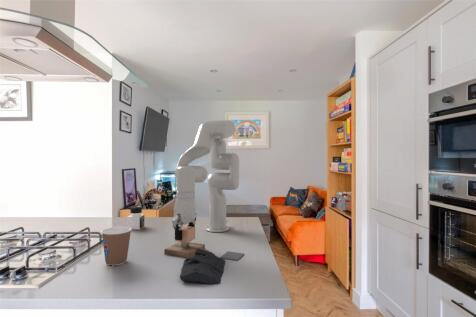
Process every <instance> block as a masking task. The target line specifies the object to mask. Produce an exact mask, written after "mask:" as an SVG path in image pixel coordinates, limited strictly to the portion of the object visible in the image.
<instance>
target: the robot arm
mask: <svg viewBox="0 0 476 317" xmlns="http://www.w3.org/2000/svg"><path fill="white" fill-rule="evenodd" d="M235 131H236V125H235V123H234V121H232V120H231V119H224V120H222V119H220V120H209V121H205V122H203V123H201V124H200V125H199V127H198V131H197V134H196V136H195V139H194V143H193V145H192V146H191V147H189V148H187V150H186V151H184V153H182V154H181V155H180V157H179V159H178V161H177V163H176V167H175V172H174V178H175V179H176V199H175V202H174V203H175V204H174V208H173V219H172V220H171V223H172V228H173V230H174V241H175V240H182V230H181V229H182V227H183V226H185V225H187V226H191V227H195V228H196V226H195V225H196V221H197V215H198V213H197V212H196V203H195V202H196V201H195V199H196V195H195V193H196V184H197V183H199V184H201V183H204V182H205V181H206V180H207V188H208V226H206V227H205V230H206V231H207V232H210V233H225V232H228V231H229V230H230V227H229V226H228V225H227V223H228V222H229V221H228V220H227V196H226V193H225V192H224V191H236V190H238V188H239V185H240V158H239V155H238V154H237V153H234V152H227V143H226V141H225V139H227V138H230V137H232V136H233V135H234V134H235ZM209 154H210V167H211V168H212V169H213V170H215V171H216V170H217V171H216V172H212V173H210V174H208V169H207V168H205V167H204V166H203V165H190V164H191V163H193V162H194V161H195V160H197V159H200V158H203V157H204V156H206V155H209ZM219 170H220V171H221V172H220V171H219ZM218 171H219V172H218ZM223 171H229V172H223Z"/></svg>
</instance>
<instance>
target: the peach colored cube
mask: <svg viewBox="0 0 476 317" xmlns="http://www.w3.org/2000/svg"><path fill="white" fill-rule="evenodd" d="M181 230H182V240H175V239H174V241H175V242H177V243H178V242H186V243H188V242H192V241H194V240H195V239H196V226H195V227H191V226H188V225H183V227H182V229H181Z"/></svg>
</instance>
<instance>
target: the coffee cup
mask: <svg viewBox="0 0 476 317" xmlns="http://www.w3.org/2000/svg"><path fill="white" fill-rule="evenodd" d="M131 231H133V229H131V228H130V227H127V226H114V227H113V226H112V227H108V228H104V229H103V230H101V231H100V232H101V235H102V236H101V237H102V245H103V252H104V253H103V254H104V262H105V265H106V266H109V265H112V266H113V265H117V266H120V265H124V264H126V263H127V259H128V255H129V254H128V253H129V249H130V248H129V247H130V240H131V233H132V232H131ZM112 266H111V267H112ZM113 267H114V266H113Z"/></svg>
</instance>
